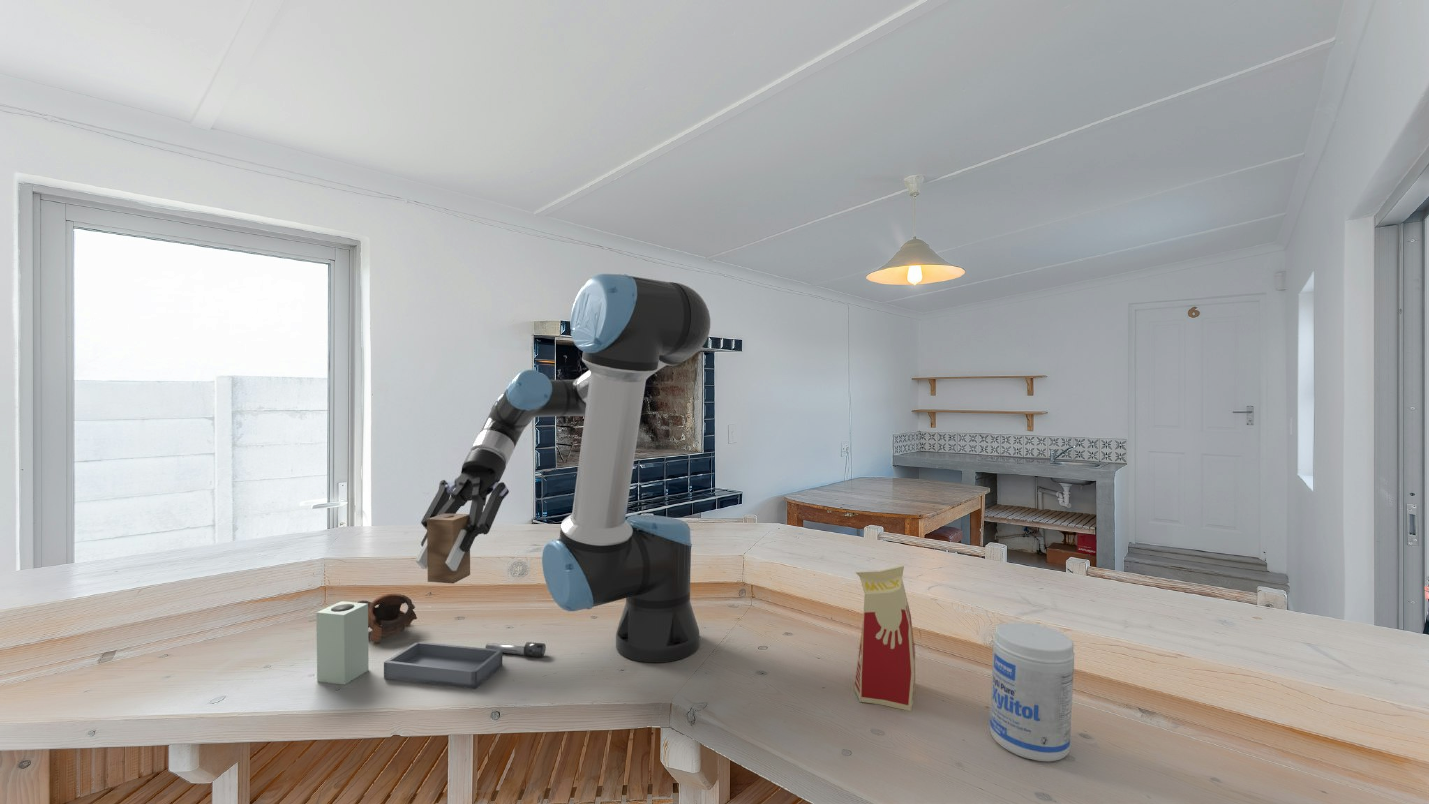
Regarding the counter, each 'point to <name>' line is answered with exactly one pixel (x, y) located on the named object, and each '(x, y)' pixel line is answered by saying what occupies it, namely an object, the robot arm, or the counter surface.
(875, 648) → the milk carton
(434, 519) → the walnut block
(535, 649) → the rod
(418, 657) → the slate tray
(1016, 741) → the supplement tub
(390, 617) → the pottery mug
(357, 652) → the sage block
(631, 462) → the robot arm
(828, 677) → the counter surface
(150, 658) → the counter surface
